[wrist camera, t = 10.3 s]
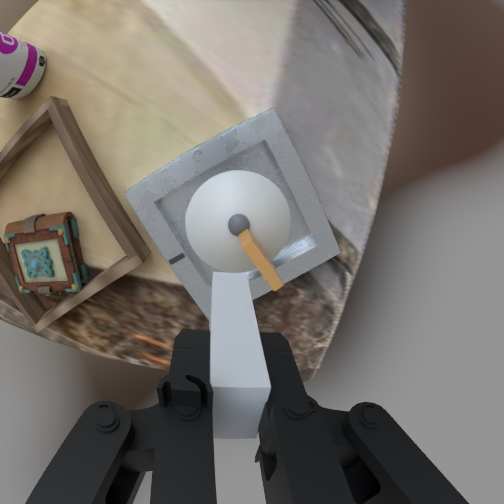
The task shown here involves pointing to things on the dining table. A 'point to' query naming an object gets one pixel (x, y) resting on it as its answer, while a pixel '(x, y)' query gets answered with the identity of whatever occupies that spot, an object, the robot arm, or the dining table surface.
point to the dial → (239, 223)
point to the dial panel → (225, 159)
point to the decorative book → (46, 254)
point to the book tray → (99, 193)
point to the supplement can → (19, 67)
